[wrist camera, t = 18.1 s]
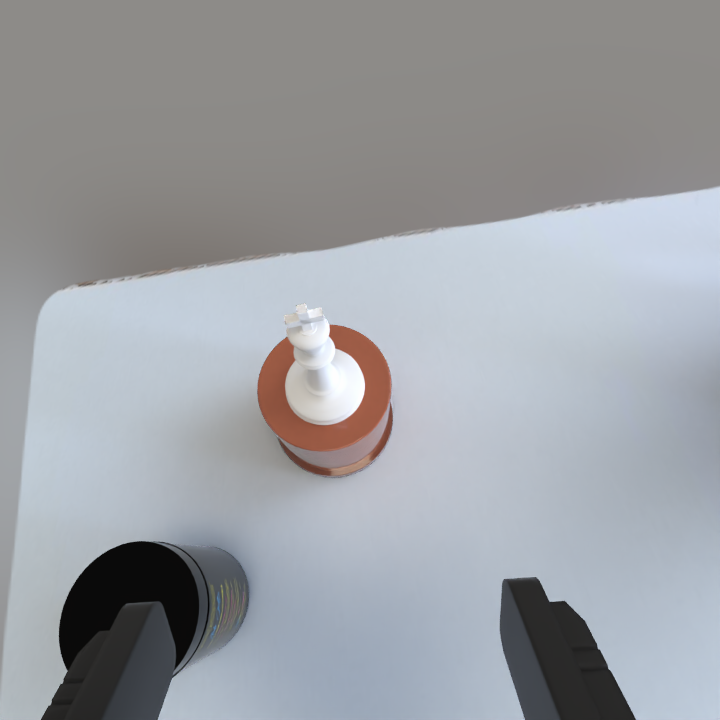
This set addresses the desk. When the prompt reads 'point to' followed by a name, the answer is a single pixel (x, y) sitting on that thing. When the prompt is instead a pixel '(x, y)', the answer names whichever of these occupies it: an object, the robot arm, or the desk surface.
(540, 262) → the desk surface
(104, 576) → the supplement container
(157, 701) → the robot arm
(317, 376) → the chess piece
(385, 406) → the upturned cup
